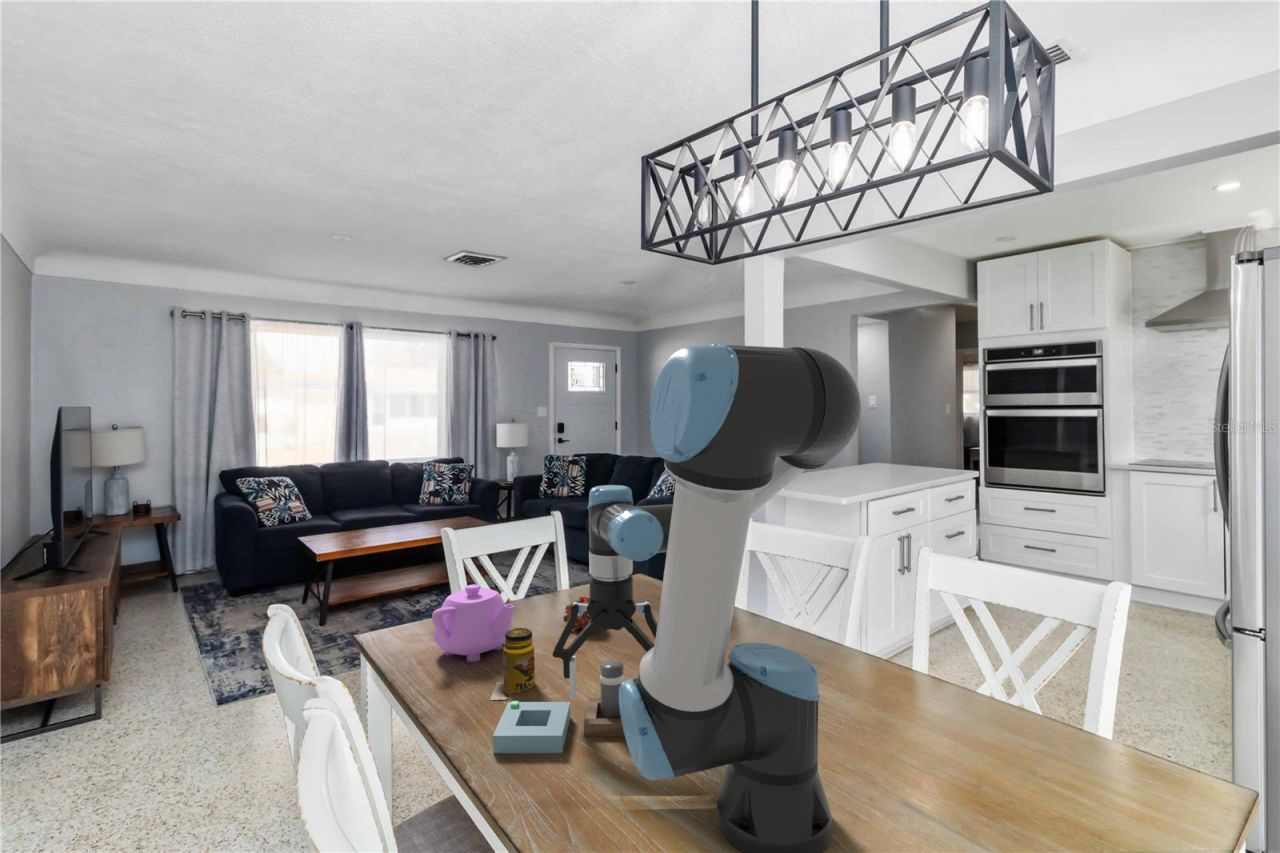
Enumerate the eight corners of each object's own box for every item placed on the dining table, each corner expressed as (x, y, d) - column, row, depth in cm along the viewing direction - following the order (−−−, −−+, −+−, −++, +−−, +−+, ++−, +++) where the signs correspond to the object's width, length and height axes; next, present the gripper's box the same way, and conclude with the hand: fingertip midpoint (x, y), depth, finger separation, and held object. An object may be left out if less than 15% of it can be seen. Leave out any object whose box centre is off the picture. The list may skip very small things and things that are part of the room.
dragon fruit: (599, 642, 150) (568, 636, 158) (617, 614, 155) (585, 610, 163) (581, 619, 146) (549, 614, 154) (599, 591, 152) (568, 588, 160)
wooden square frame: (637, 742, 102) (637, 723, 102) (584, 742, 102) (583, 724, 102) (638, 715, 111) (638, 697, 111) (588, 715, 111) (588, 698, 111)
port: (562, 760, 97) (561, 731, 97) (493, 760, 97) (492, 732, 97) (570, 724, 108) (570, 698, 108) (508, 724, 108) (508, 698, 108)
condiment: (534, 699, 117) (533, 638, 117) (489, 701, 117) (488, 639, 117) (538, 682, 125) (538, 624, 124) (497, 683, 124) (496, 625, 124)
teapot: (475, 681, 125) (474, 608, 125) (409, 661, 135) (407, 594, 135) (537, 647, 142) (536, 584, 142) (474, 632, 152) (473, 572, 152)
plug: (623, 727, 105) (623, 670, 104) (599, 727, 105) (599, 670, 104) (624, 715, 109) (624, 660, 108) (601, 715, 109) (600, 660, 108)
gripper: (681, 569, 109) (682, 685, 110) (542, 569, 110) (544, 685, 110) (684, 581, 102) (684, 706, 103) (535, 581, 102) (536, 706, 103)
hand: (612, 695), depth 107 cm, fingers open, 13 cm apart
